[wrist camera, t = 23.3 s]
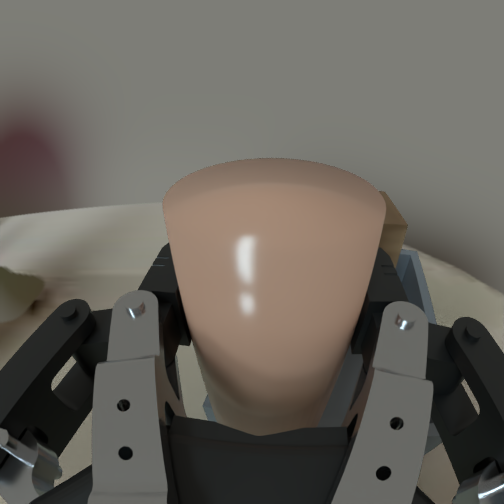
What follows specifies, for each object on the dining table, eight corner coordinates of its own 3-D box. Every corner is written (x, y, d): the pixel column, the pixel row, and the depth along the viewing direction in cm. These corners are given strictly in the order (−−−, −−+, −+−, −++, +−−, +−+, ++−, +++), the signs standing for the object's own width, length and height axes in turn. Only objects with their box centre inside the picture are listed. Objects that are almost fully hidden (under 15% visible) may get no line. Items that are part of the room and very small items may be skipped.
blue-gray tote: (214, 436, 16) (202, 405, 14) (273, 273, 30) (275, 231, 27) (414, 461, 13) (451, 435, 10) (402, 291, 27) (416, 251, 24)
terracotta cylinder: (197, 434, 11) (115, 231, 5) (232, 351, 15) (214, 154, 9) (312, 461, 10) (403, 270, 4) (329, 369, 14) (374, 169, 8)
